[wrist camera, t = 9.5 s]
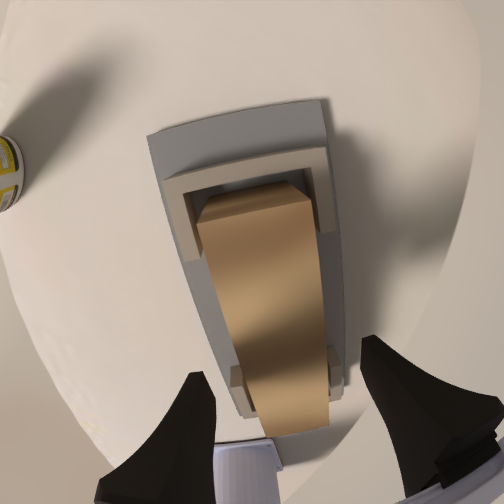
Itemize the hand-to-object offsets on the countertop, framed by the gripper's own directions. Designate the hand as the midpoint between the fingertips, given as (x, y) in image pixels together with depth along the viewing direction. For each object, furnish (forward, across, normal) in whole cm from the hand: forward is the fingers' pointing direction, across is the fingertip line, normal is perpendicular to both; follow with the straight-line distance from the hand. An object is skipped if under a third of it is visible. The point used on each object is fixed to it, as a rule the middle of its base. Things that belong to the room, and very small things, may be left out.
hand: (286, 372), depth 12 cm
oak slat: (+6, 0, 0) cm, 6 cm away
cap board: (+6, 0, 0) cm, 6 cm away
